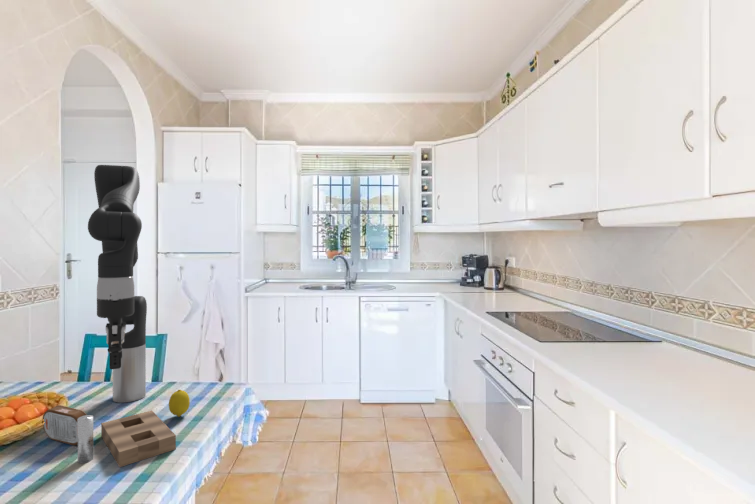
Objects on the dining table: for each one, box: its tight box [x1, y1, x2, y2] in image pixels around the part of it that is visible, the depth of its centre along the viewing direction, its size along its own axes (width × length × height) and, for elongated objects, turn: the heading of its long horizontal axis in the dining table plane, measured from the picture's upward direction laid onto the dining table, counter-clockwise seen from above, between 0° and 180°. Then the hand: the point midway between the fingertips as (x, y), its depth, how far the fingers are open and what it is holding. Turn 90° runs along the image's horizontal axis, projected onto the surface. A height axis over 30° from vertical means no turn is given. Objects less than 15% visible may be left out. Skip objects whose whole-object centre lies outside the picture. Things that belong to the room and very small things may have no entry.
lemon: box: [168, 389, 191, 418], centre depth 119 cm, size 6×6×8 cm
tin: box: [42, 404, 88, 446], centre depth 104 cm, size 15×3×8 cm, turn 71°
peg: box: [77, 414, 94, 464], centre depth 95 cm, size 3×3×10 cm
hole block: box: [100, 410, 177, 468], centre depth 103 cm, size 20×12×4 cm, turn 44°
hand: (116, 363), depth 97 cm, fingers open, 8 cm apart
